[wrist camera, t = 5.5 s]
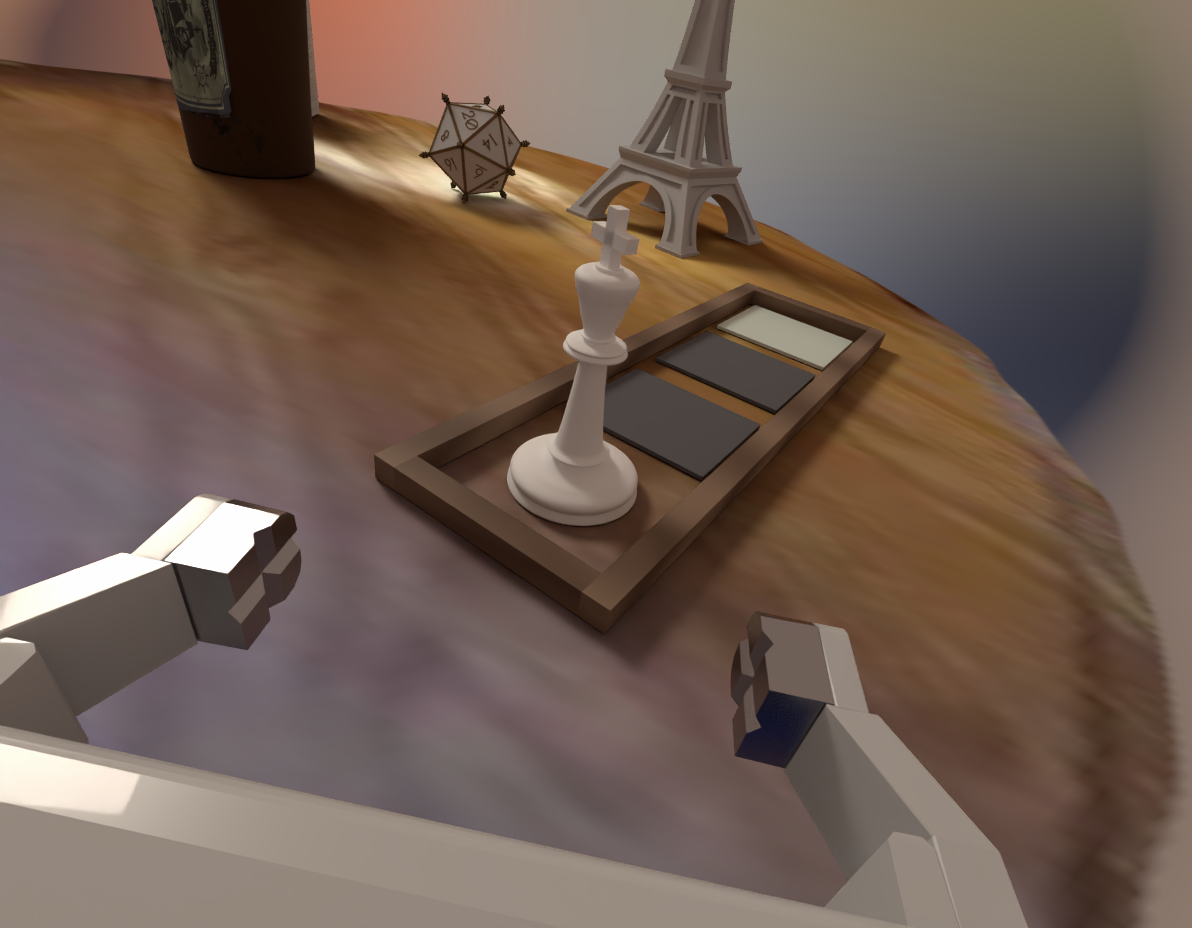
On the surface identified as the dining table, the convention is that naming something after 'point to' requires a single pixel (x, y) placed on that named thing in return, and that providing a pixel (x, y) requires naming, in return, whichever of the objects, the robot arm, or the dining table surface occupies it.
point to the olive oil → (241, 83)
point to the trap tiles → (698, 402)
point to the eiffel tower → (684, 143)
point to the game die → (475, 147)
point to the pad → (786, 336)
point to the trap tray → (654, 552)
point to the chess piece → (586, 401)
